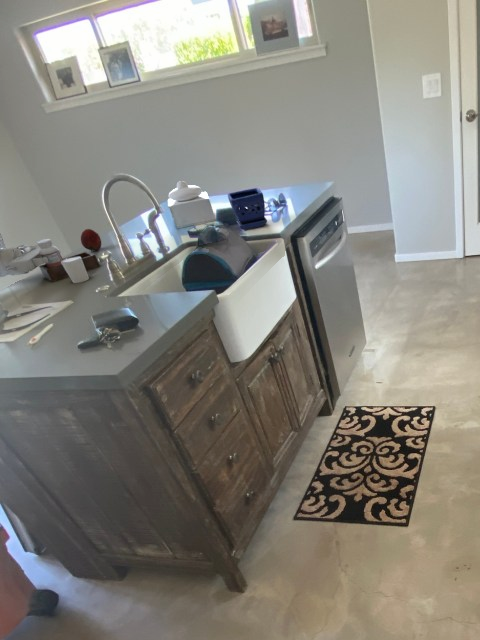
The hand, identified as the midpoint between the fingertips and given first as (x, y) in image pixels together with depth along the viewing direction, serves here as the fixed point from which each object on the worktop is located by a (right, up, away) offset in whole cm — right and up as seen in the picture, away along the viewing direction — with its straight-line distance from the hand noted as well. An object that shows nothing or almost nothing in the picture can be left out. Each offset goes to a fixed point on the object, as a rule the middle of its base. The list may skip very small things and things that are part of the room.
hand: (53, 255), depth 188 cm
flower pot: (+66, +25, +27) cm, 76 cm away
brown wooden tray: (+3, -3, +7) cm, 8 cm away
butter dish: (+35, +39, +47) cm, 70 cm away
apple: (0, +15, +27) cm, 31 cm away
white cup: (+12, -11, -3) cm, 16 cm away
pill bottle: (0, -5, +4) cm, 6 cm away
